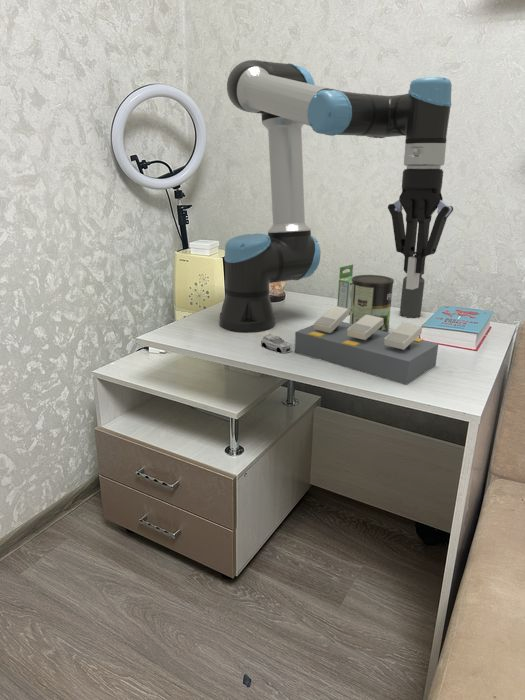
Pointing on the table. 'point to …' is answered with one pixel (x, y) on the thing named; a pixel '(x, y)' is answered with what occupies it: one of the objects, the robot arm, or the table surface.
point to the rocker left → (331, 319)
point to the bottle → (412, 299)
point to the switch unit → (368, 353)
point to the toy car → (275, 343)
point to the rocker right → (403, 335)
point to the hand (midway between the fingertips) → (412, 288)
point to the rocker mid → (365, 327)
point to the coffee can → (371, 298)
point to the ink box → (345, 288)
